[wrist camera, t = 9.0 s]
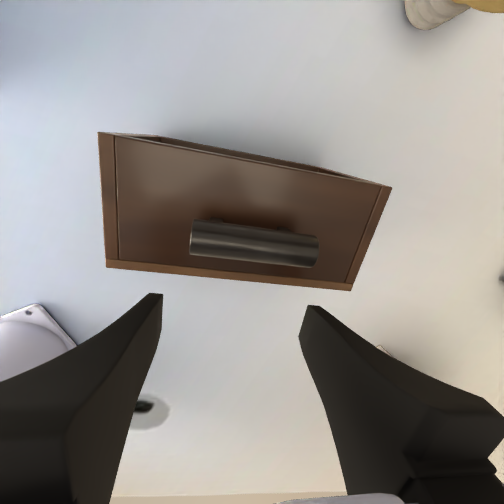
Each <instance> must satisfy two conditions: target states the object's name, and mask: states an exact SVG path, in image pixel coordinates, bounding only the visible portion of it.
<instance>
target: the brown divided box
mask: <svg viewBox="0 0 504 504" xmlns="http://www.w3.org/2000/svg"><path fill="white" fill-rule="evenodd" d="M97 134H98V150H99V166H100V182H101V198H102V214H103V230H104V246H105V258H106V259H105V261H106V267H107V268H117V269H127V270H137V271H148V272H158V273H168V274H179V275H189V276H199V277H209V278H220V279H230V280H240V281H251V282H261V283H271V284H282V285H292V286H302V287H313V288H323V289H333V290H344V291H351V289H352V287H353V283H354V281H355V279H356V277H357V274H358V272H359V269H360V267H361V264H362V262H363V259H364V257H365V254H366V252H367V249H368V247H369V244H370V242H371V240H372V237H373V235H374V232H375V230H376V227H377V225H378V222H379V220H380V217H381V215H382V212H383V210H384V207H385V205H386V203H387V200H388V198H389V195H390V193H391V190H392V187H389V186H386V185H382V184H379V183H375V182H371V181H368V180H364V179H361V178H357V177H354V176H350V175H347V174H343V173H340V172H336V171H332V170H329V169H325V168H322V167H316V166H311V165H306V164H301V163H296V162H291V161H286V160H280V159H275V158H270V157H265V156H260V155H255V154H250V153H244V152H239V151H234V150H229V149H224V148H219V147H213V146H208V145H203V144H198V143H193V142H188V141H183V140H177V139H172V138H167V137H162V136H157V135H145V134H127V133H110V132H98V133H97Z"/></svg>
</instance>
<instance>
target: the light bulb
mask: <svg viewBox="0 0 504 504" xmlns="http://www.w3.org/2000/svg"><path fill="white" fill-rule="evenodd" d="M471 7H472V8H474V9H477V10H480V11H483V12H490V13H504V0H405V10H406V15H407V17H408V20H409V21H410V22H411V24H412V25H413V26H415V27H416V28H418V29H422V30H429V29H433V28H436V27H437V26H439V25H441V24H442V23H444V22H445V21H448V20H450V19H452V18H453V17H455V16H456V15H458V14H460V13H462V12H464V11H466V10H467V9H469V8H471Z"/></svg>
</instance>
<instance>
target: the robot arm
mask: <svg viewBox="0 0 504 504" xmlns="http://www.w3.org/2000/svg"><path fill="white" fill-rule="evenodd" d="M162 307H163V294H156V293H149V294H147V295H146V296H145V297H144V298H143V299H142V300H140V301H139V302H138V303H137V304H136V305H135V306H133V307H132V308H131V309H130V310H129V311H127V312H126V313H125V314H124V315H123V316H121V317H120V318H119V319H117V320H116V321H115V322H113V323H112V324H111V325H109V326H108V327H107V328H105V329H104V330H102V331H101V332H99V333H98V334H96V335H95V336H93V337H92V338H90V339H88V340H87V341H85V342H83V343H82V344H80V345H78V346H77V345H76V344H75V343H74V342H73V341H72V340H71V338H70V337H69V336H68V335H67V334H66V333H65V332H64V331H63V329H62V328H61V327H60V326H59V325H58V324H57V323H56V322H55V320H54V319H53V318H52V317H51V316H50V315H49V314H48V313H47V312H46V310H45V309H44V308H43V307H42V306H41V305H39V304H32V305H29V306H27V307H24V308H22V309H19V310H16V311H14V312H11V313H9V314H6V315H4V316H1V317H0V504H109V502H110V498H111V494H112V491H113V487H114V483H115V479H116V475H117V471H118V467H119V463H120V460H121V456H122V452H123V449H124V445H125V441H126V437H127V434H128V430H129V427H130V423H131V419H132V416H133V412H134V409H135V406H136V403H137V400H138V397H139V394H140V391H141V389H142V386H143V384H144V381H145V378H146V376H147V373H148V371H149V368H150V365H151V363H152V360H153V357H154V355H155V352H156V349H157V346H158V342H159V338H160V333H161V329H162ZM29 311H31V312H32V313H31V312H29ZM298 337H299V341H300V345H301V349H302V352H303V356H304V358H305V361H306V363H307V366H308V368H309V371H310V373H311V375H312V378H313V380H314V383H315V385H316V387H317V390H318V392H319V395H320V397H321V400H322V402H323V405H324V408H325V411H326V414H327V418H328V421H329V424H330V428H331V431H332V435H333V438H334V442H335V445H336V449H337V453H338V457H339V461H340V465H341V469H342V473H343V477H344V481H345V485H346V490H347V494H348V495H347V496H334V497H322V498H309V499H296V500H289V501H285V502H280V503H275V504H504V484H502V485H501V483H500V482H499V481H498V480H497V479H496V478H495V476H494V475H493V474H495V473H496V472H497V470H496V467H495V466H494V465H493V464H492V463H491V462H490V461H489V459H488V457H489V455H490V454H491V453H492V452H493V451H494V449H495V448H496V447H497V446H498V445H499V443H500V442H501V441H502V439H503V438H504V417H503V416H502V415H501V414H500V413H499V412H498V411H497V410H496V409H495V408H494V407H493V406H492V405H491V404H489V403H488V402H487V401H486V400H485V399H484V398H482V397H479V396H477V395H474V394H471V393H469V392H466V391H464V390H461V389H458V388H456V387H453V386H451V385H448V384H446V383H444V382H441V381H439V380H437V379H435V378H432V377H430V376H428V375H426V374H424V373H422V372H420V371H418V370H416V369H414V368H412V367H410V366H408V365H406V364H404V363H402V362H400V361H398V360H397V359H395V358H393V357H391V356H390V355H388V354H386V353H385V352H383V351H381V350H380V349H378V348H377V347H375V346H373V345H372V344H370V343H369V342H368V341H366V340H365V339H363V338H362V337H360V336H359V335H358V334H356V333H355V332H353V331H352V330H351V329H349V328H348V327H347V326H345V325H344V324H343V323H342V322H340V321H339V320H338V319H336V318H335V317H334V316H332V315H331V314H330V313H329V312H327V311H326V310H324V309H323V308H321V307H320V306H314V305H308V306H307V310H306V313H305V316H304V320H303V323H302V326H301V330H300V333H299V336H298Z"/></svg>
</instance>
